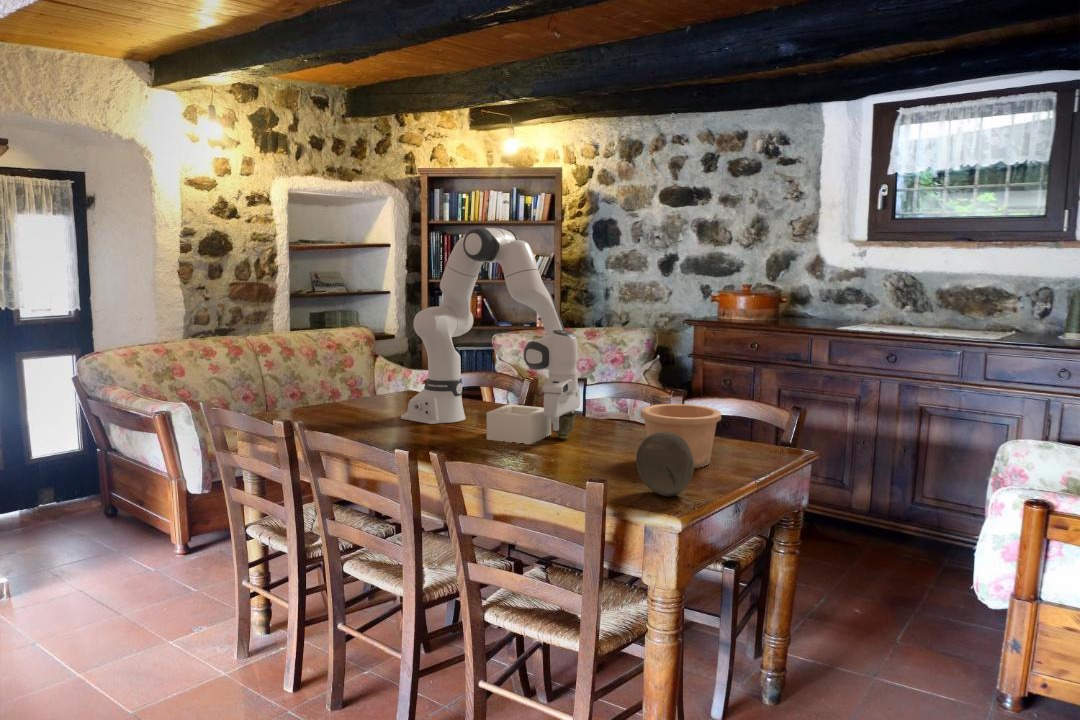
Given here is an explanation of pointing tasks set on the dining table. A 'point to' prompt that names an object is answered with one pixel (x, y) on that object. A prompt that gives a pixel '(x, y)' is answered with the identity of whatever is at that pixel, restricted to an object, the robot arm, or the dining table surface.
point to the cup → (565, 425)
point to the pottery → (685, 426)
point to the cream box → (518, 424)
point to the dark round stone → (665, 463)
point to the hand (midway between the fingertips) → (562, 427)
